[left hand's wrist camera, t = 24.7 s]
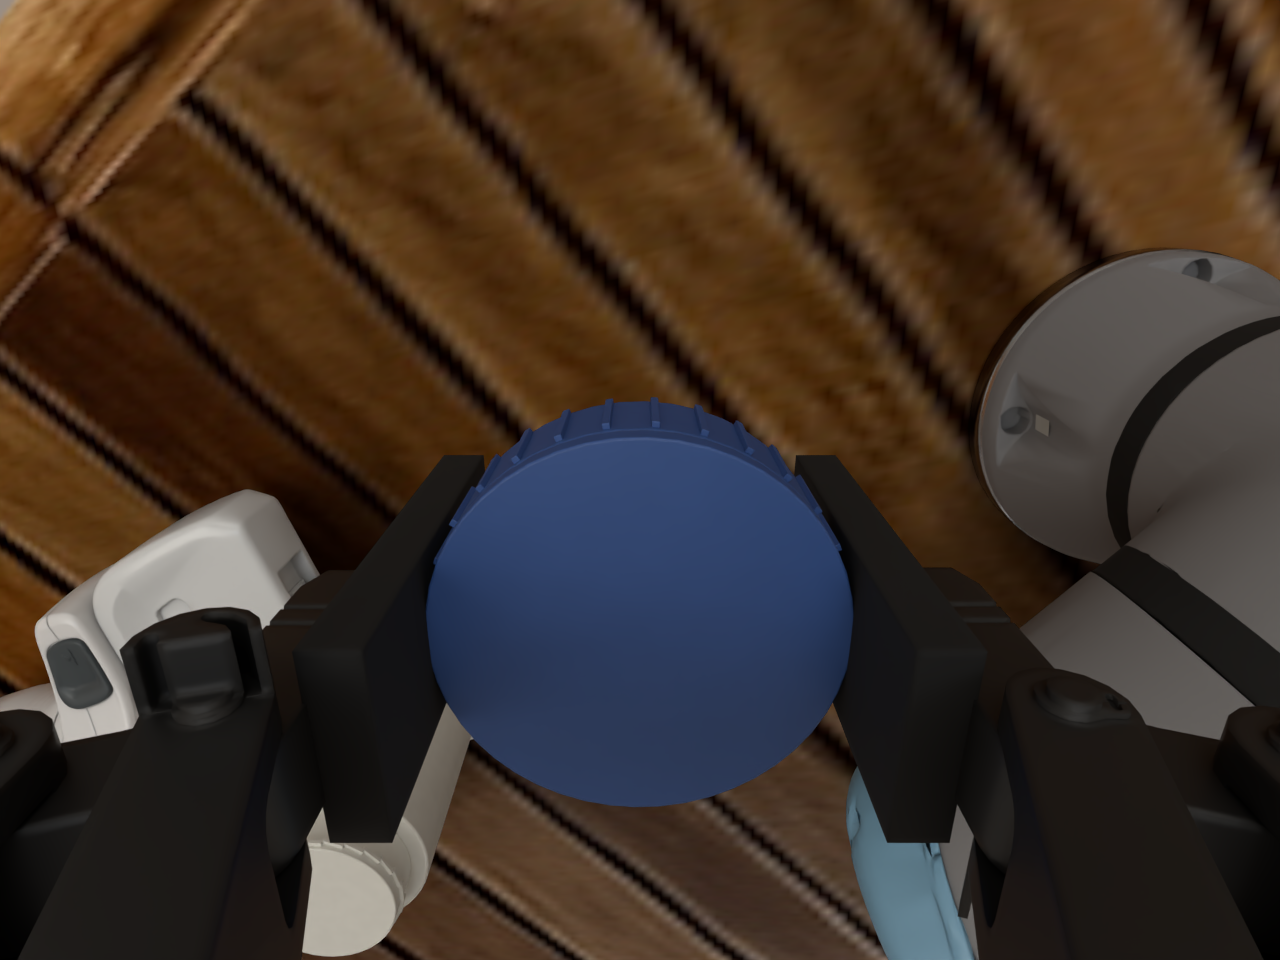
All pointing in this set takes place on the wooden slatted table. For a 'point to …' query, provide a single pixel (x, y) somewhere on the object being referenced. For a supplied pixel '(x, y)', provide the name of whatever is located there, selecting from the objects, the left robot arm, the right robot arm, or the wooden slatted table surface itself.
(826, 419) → the wooden slatted table surface
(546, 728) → the lid
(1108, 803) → the left robot arm
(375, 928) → the bottle
